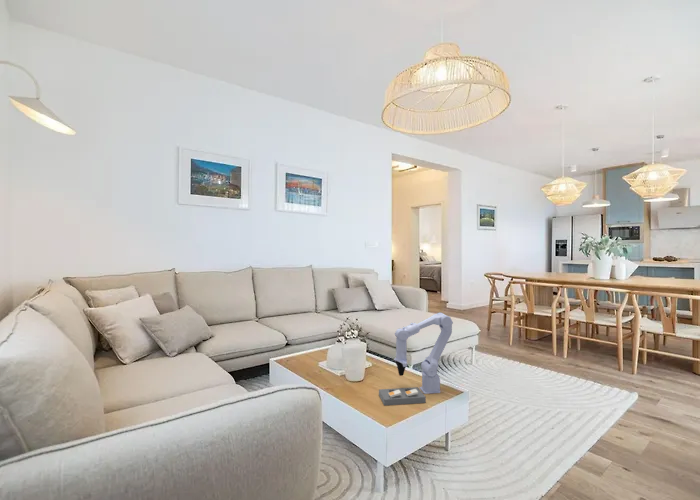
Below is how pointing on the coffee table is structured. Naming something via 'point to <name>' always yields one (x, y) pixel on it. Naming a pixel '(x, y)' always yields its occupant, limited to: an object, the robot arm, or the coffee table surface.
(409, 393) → the rocker
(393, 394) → the rocker
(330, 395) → the coffee table surface
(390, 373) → the coffee table surface
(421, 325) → the robot arm
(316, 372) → the coffee table surface
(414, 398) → the grey switch panel
